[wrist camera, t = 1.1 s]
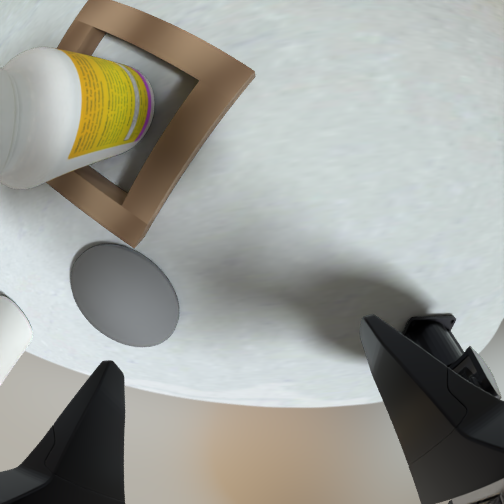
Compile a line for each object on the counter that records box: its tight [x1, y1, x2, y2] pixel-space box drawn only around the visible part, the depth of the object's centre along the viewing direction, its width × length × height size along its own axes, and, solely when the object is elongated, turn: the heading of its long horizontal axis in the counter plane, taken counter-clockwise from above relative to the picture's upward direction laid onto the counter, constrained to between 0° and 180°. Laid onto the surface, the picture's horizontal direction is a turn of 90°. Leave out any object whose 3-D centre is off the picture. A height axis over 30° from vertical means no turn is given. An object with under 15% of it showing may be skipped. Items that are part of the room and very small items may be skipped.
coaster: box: [71, 244, 179, 347], centre depth 23 cm, size 11×11×1 cm
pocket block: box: [46, 0, 255, 248], centre depth 15 cm, size 14×14×2 cm
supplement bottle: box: [0, 47, 155, 189], centre depth 10 cm, size 7×7×13 cm
